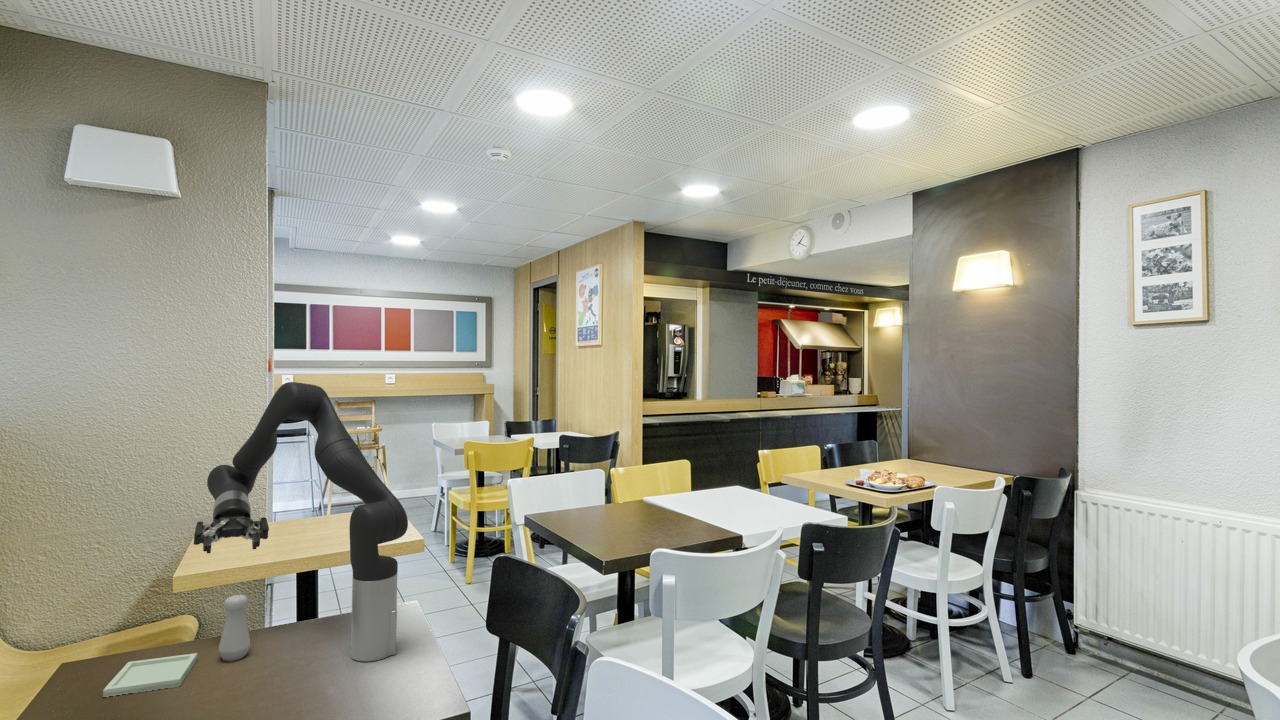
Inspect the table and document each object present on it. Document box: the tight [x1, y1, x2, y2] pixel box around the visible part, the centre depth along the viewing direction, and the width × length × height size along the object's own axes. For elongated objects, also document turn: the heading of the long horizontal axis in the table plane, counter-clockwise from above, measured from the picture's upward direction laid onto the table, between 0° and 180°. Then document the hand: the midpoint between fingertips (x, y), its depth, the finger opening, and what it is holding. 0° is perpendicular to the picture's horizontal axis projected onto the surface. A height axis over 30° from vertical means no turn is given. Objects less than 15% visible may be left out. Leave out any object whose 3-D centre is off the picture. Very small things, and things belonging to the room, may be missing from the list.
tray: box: [102, 652, 198, 698], centre depth 125 cm, size 12×12×2 cm
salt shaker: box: [218, 594, 251, 662], centre depth 134 cm, size 6×6×13 cm
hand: (232, 547), depth 137 cm, fingers open, 8 cm apart
